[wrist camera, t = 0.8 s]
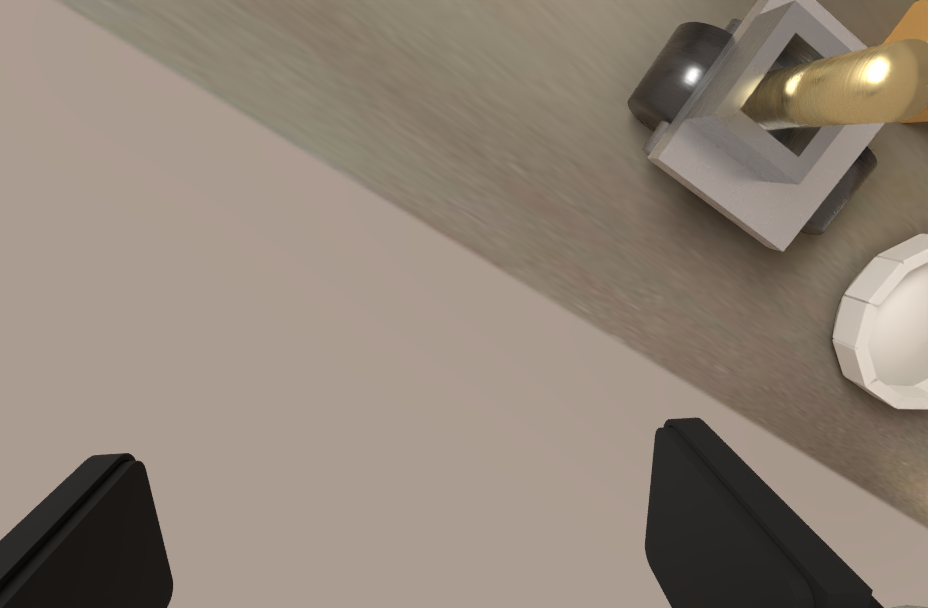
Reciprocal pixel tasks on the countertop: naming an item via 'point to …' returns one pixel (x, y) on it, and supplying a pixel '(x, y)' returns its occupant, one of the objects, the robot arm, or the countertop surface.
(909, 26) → the orange cube
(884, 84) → the pin
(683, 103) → the white stand
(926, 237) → the dish
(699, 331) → the countertop surface
